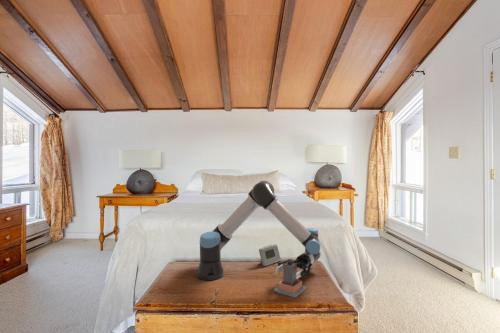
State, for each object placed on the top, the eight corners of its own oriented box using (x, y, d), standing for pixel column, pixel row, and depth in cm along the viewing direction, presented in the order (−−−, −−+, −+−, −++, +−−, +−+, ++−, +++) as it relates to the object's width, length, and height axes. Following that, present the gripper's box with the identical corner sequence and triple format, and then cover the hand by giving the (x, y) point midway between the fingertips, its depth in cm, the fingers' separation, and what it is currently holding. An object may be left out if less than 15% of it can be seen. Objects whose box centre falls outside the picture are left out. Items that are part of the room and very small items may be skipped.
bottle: (283, 288, 137) (283, 260, 137) (287, 284, 142) (287, 257, 141) (292, 291, 135) (292, 262, 134) (296, 287, 139) (296, 259, 139)
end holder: (273, 291, 137) (273, 283, 137) (285, 282, 146) (285, 275, 146) (295, 297, 130) (295, 289, 130) (306, 288, 140) (306, 280, 139)
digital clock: (263, 267, 168) (263, 250, 168) (255, 263, 176) (255, 246, 175) (284, 262, 176) (284, 246, 176) (275, 258, 184) (275, 242, 184)
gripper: (325, 271, 146) (308, 287, 128) (286, 263, 159) (266, 275, 141) (324, 257, 146) (308, 271, 128) (286, 250, 159) (266, 261, 141)
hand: (286, 273), depth 135 cm, fingers open, 10 cm apart
